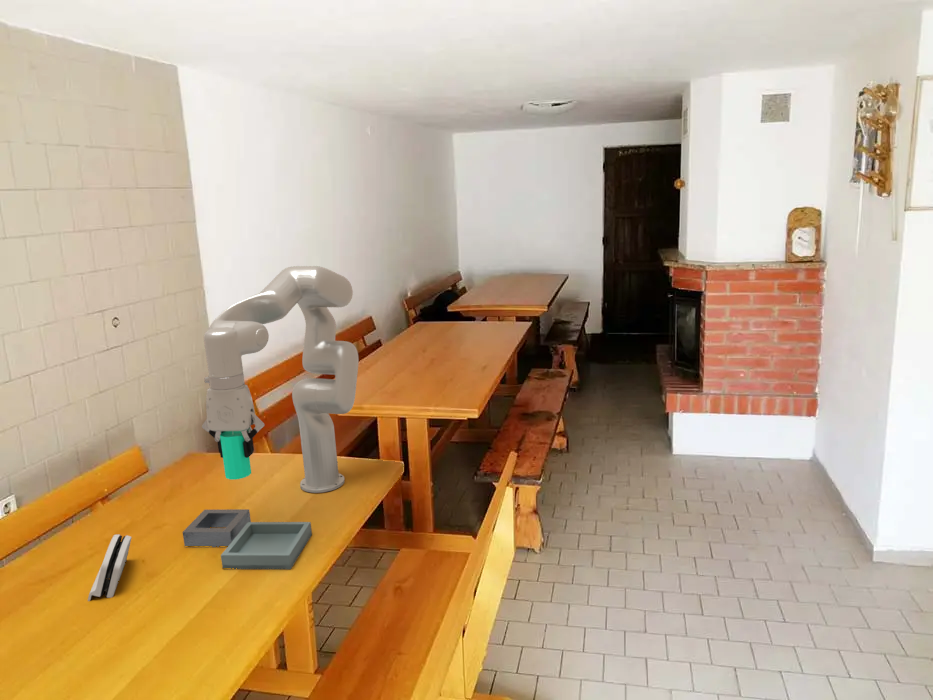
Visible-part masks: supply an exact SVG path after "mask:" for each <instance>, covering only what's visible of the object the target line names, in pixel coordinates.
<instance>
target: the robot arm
mask: <svg viewBox="0 0 933 700" xmlns="http://www.w3.org/2000/svg"><path fill="white" fill-rule="evenodd" d="M353 293H354V291H353V286H352V284H351V282H350V281H349V280H348V278H346V277H345V276H344V275H341V274H339V273H337V272H335V271H333V270H331V269H328V268H325V267H323V266H317V265H316V266H315V265H303V266H302V265H301V266H299V265H297V266H288V267H285V268H284V269H282V270H281V271H279V273H278V274H277V275H276V276H275V277H274V278H273V279H272V280H270V282H269V283H268V284H267V285H266V286H265V287H264V288H263V289H262V291H260V292H258V293H256V294H254V295H251V296H249V297H247V298H245V299H243V300H241V301H238V302H236V303H234V304H232V305H230V306H229V307H227V308H226V309H225V310H222V311H221V313H219V315H218V316H217V317H216V318H215V319H213V321H212V322H211V324H210V325H209V327H208V328H207V329H208V330H207V331H205V332H204V335H203V342H204V350H205V357H206V358H205V359H206V364H207V365H206V366H207V370H208V371H207V373H208V375H207V376H205V377H204V379H203V381H204V383H207V384H209V388H207V389H206V400H205V404H206V405H205V408H206V412H205V413H206V419H205V421H204V422H203V423H202V425H201V428H202V429H203V430H204V431H206V432H207V433H208V434H209V435H210V436H211V437H212V438H213V439H214V441H215V442H216V443H217V447H218V449H217V450H218V453H219V455H220V458H222V459H223V454H222V447H221V441H220V435H221V434H222V433H225V432H226V431H241V432H242V435H243V437H244V439H245V441H244V442H243V447H244V455H245V457H246V458H248V457H249V458H250V457H251V456H252V455H253V454H254V451H255V446H254V437H255V436H256V435H257V434H258V433H259V432H260V431H261V430H262V428H264V427H265V423H264V422H263V421H262V420H261V419H260V418H259V417H258V416H257V415H256V411H255V406H254V402H253V398H252V394H251V392H250V388H249V386H248V384H245V375H244V368H243V367H244V366H243V361H242V360H243V359H242V356H244V355H250V354H256V353H258V352H260V351H263V349H264V348H265V347H266V346H267V344H268V342H269V336H270V334H269V331H268V329H267V327H266V326H265V324H271V323H273V322H277V321H279V320H282V319H284V318H285V317H286V316H287V315H288V314H289V313H290V311H291V310H292V309H294V307H295V306H296V305H298V306H299V309H300V311H301V312H302V315H303V317H304V321H305V329H304V330H305V331H304V332H305V333H304V339H303V340H304V342H303V348H302V359H301V361H302V362H301V363H302V368H303V369H304V370H305V371H306V372H308V373H311V374H318V375H334V378H333V379H331V378H320V377H319V378H317V377H316V378H315V377H311V378H310V377H309V378H308V377H307V378H304V379H303V378H302V379H301V380H299V381H297V382H296V383H295V384H294V385H293V388H292V391H291V393H292V394H291V398H292V402H293V403H292V404H293V406H294V410H295V412H296V415H297V421H298V426H299V428H298V429H299V434H300V444H301V452H302V461H303V469H304V478H302V480H300V483H299V485H300V489H301V490H302V491H304V492H307V493H313V494H320V493H327V492H331V491H335V490H336V489H337V490H338V489H339V488H341V487H342V486H343V485H344V484H345V476H344V475H343V474H341V473H340V472H339V466H338V463H339V462H338V455H337V445H336V433H335V425H334V422H333V419H332V418H331V416H330V414H333V415H334V414H335V415H344V414H348V413H349V412H350V411H351V410H352V409H353V408H354V403H355V400H356V390H357V381H358V373H359V372H358V371H359V361H360V360H359V352H358V350H357V347H356V346H355V344H353V343H352V342H350V341H346V340H345V341H344V340H336V333H337V323H336V320H335V318H334V316H333V314H332V312H331V311H330V310H329V309H328V308H344V307H346V306H347V305H349V304H350V303H351V301H352V299H353V295H354V294H353ZM252 425H254V426H255V427H253V428H252V427H251V426H252Z"/></svg>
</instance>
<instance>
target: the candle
mask: <svg viewBox="0 0 933 700" xmlns="http://www.w3.org/2000/svg"><path fill="white" fill-rule="evenodd" d="M220 441H221V447H222V454H223V458H222V461H223V469H224V474H225V475H224V476H225V479H228V480H241V479H244V478H247V477H249V476H250V475H251V474H252V467H251V459H250V456H249V457H248V458H246V457H245V455H244V447H243V442H244V441H245V439H244V437H243V435H242V432H241V431H226V432H225V433H222V434H221V435H220Z"/></svg>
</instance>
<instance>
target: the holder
mask: <svg viewBox="0 0 933 700" xmlns="http://www.w3.org/2000/svg"><path fill="white" fill-rule="evenodd" d="M248 522H252V520H251V513H250V509H249V508H248V509H236V508H235V509H203V511H201V512H200V514H198V516H197V517H196V518H194V520H193V521H192V522H191V523H190V524H189V525H188V526H187V527H186V528H185V529H183V531H182V537H183V543H184V547H185V546H212V547H211V548H220V547H219V546H229V545H230V543H231V542H232V541H233V540H234V539H235V537H236V536H237V535H238V534H239V532H240V531H241V530H242V529H243V528H244V526H245V525H246V524H247V523H248ZM210 527H211V528H210ZM216 546H217V547H216Z"/></svg>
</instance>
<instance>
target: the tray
mask: <svg viewBox="0 0 933 700" xmlns="http://www.w3.org/2000/svg"><path fill="white" fill-rule="evenodd" d="M311 536H313V533H312V523H311V521H251V522H248V523H247V524H246V525H245V526H244V528H243V529H242V530H241V531H240V532H239V534H238V535H237V536H236V537H235V539H234V540H233V541H232V542H231V543H230V545H229V546H228V547H225V549H224V551H222V553H221V554H220V560H221V567H222V569H223V568H231V569H230V570H292V568H293V566H294V565H295V563H296V561H297V560H298V558H299V557H300V555H301V554H302V552H303V550H304V548H305V546H306V545H307V544H308V542H309V540H310V539H311ZM232 568H234V569H232ZM236 568H237V569H236Z"/></svg>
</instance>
